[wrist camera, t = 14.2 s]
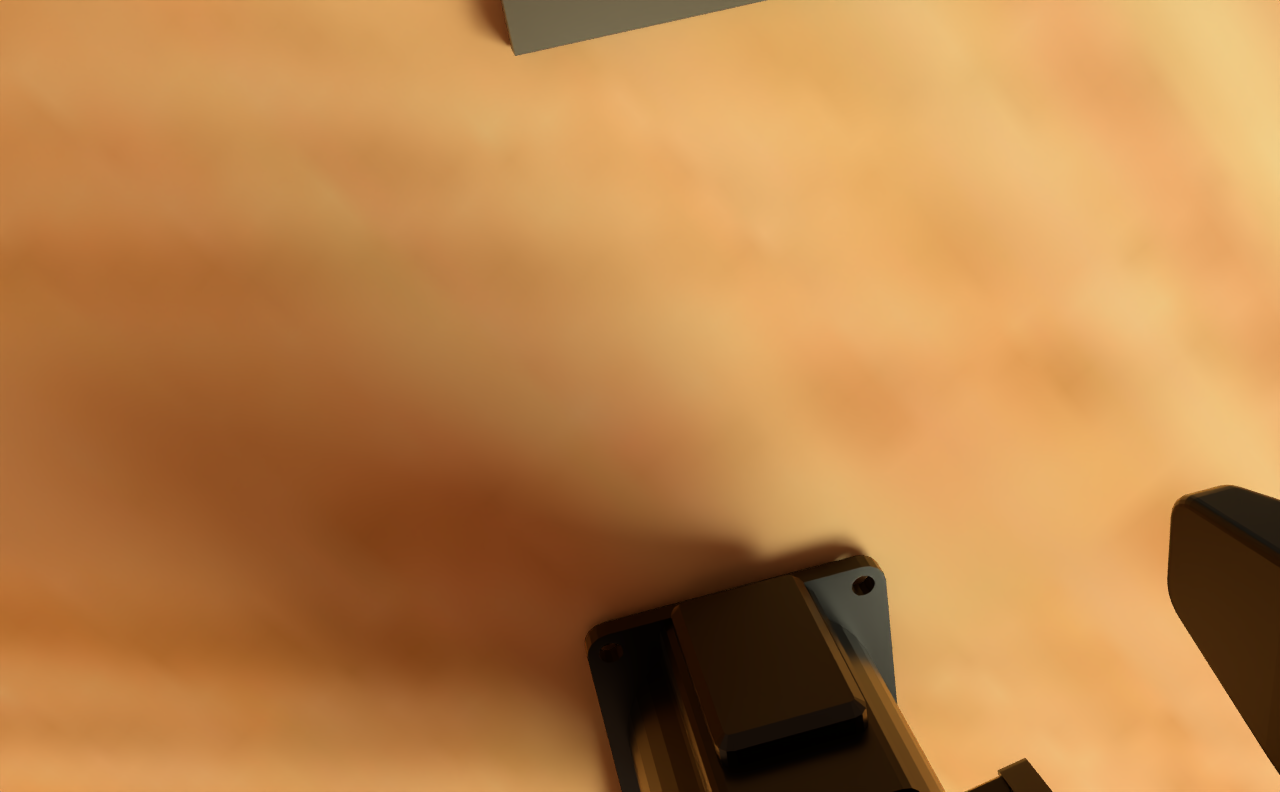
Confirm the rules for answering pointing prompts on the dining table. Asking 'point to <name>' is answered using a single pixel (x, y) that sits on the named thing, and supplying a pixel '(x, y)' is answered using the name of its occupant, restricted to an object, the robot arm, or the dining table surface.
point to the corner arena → (594, 18)
